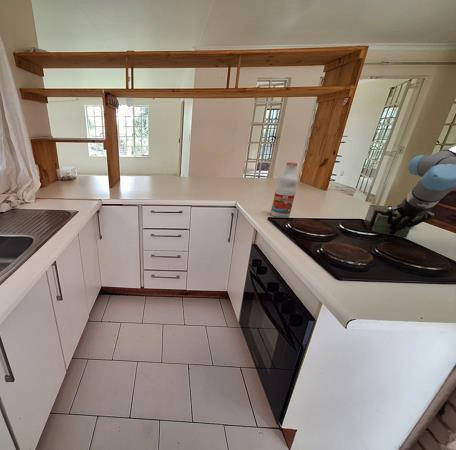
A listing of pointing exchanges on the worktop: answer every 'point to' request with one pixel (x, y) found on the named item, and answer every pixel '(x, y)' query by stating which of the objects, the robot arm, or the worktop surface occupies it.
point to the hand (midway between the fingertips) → (391, 231)
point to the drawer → (386, 225)
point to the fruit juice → (285, 192)
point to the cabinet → (372, 212)
